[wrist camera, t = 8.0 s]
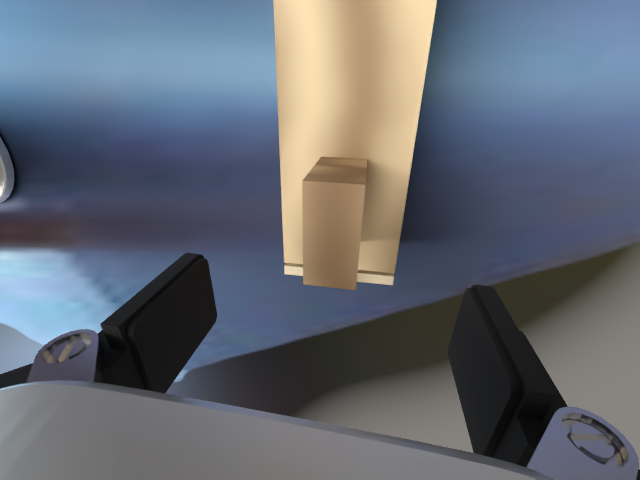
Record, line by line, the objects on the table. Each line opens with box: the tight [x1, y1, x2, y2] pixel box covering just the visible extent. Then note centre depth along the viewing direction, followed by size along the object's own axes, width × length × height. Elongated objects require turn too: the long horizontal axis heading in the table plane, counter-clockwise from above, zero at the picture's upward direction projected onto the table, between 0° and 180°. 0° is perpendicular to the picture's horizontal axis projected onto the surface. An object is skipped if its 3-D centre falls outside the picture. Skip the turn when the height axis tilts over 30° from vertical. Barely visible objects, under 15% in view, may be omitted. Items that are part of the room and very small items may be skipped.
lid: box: [274, 0, 437, 290], centre depth 17 cm, size 9×19×7 cm, turn 179°
